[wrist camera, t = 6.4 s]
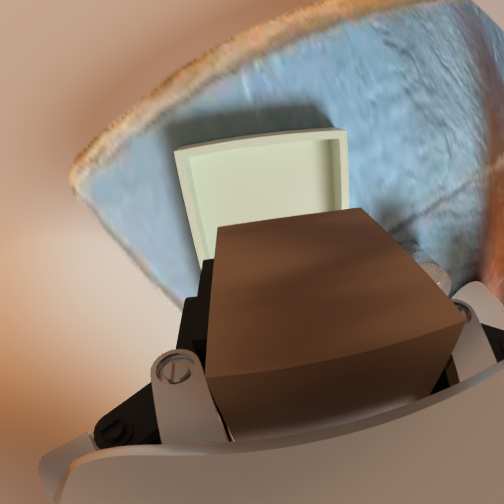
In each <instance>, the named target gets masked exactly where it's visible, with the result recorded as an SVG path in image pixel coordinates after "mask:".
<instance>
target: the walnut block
mask: <svg viewBox="0 0 504 504" xmlns="http://www.w3.org/2000/svg"><path fill="white" fill-rule="evenodd" d="M466 320H467V319H466V318H465V317H464V315H463V314H462V313H461V312H460V311H459V309H458V308H457V307H456V306H455V305H454V303H453V302H452V301H451V300H450V299H449V297H448V296H447V295H446V294H445V293H444V292H443V291H442V289H441V288H440V287H439V286H438V285H437V284H436V283H435V282H434V280H433V279H432V278H431V277H430V276H429V275H428V274H427V273H426V272H425V271H424V270H423V268H422V267H421V266H420V265H419V264H418V263H417V262H416V261H415V260H414V259H413V258H412V257H411V256H410V255H409V254H408V253H407V252H406V251H405V250H404V249H403V248H402V247H401V246H400V245H399V244H398V243H397V242H396V241H395V240H394V239H393V238H392V237H391V236H390V235H389V234H388V233H387V232H386V231H385V230H384V229H383V228H382V227H381V226H380V225H379V224H378V223H377V222H376V221H375V220H373V219H372V218H371V217H370V216H369V215H368V214H367V213H366V212H365V211H364V210H363V209H362V208H353V209H344V210H336V211H328V212H320V213H312V214H305V215H297V216H290V217H282V218H275V219H268V220H261V221H254V222H247V223H241V224H234V225H227V226H221V227H217V236H216V246H215V256H214V266H213V276H212V287H211V298H210V310H209V322H208V336H207V350H206V365H205V379H206V382H207V384H208V386H209V388H210V391H211V393H212V395H213V397H214V400H215V402H216V404H217V406H218V408H219V410H220V412H221V414H222V417H223V419H224V421H225V423H226V425H227V427H228V429H229V431H230V433H231V435H232V437H233V439H234V441H235V442H237V441H248V440H258V439H266V438H274V437H281V436H287V435H293V434H299V433H305V432H310V431H315V430H320V429H324V428H329V427H333V426H337V425H342V424H346V423H349V422H353V421H357V420H361V419H364V418H368V417H371V416H374V415H378V414H381V413H384V412H387V411H390V410H393V409H396V408H399V407H402V406H405V405H407V404H410V403H413V402H415V401H418V400H421V399H423V398H426V397H428V396H429V395H430V393H431V391H432V389H433V388H434V386H435V384H436V382H437V381H438V379H439V377H440V375H441V373H442V371H443V370H444V368H445V366H446V364H447V362H448V360H449V358H450V356H451V354H452V352H453V350H454V348H455V345H456V343H457V341H458V339H459V337H460V334H461V332H462V330H463V327H464V325H465V323H466Z"/></svg>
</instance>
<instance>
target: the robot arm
mask: <svg viewBox="0 0 504 504" xmlns="http://www.w3.org/2000/svg"><path fill="white" fill-rule="evenodd" d="M213 266H214V258H213V259H206V260H203V263H202V269H201V276H200V282H199V288H198V295H197V297H189V298H186V299H185V303H184V308H183V313H182V318H181V323H180V329H179V334H178V340H177V346H176V349H175V350H171V351H168V352H166V353H164V354H162V355H161V356H159V357H158V358H157V359H156V361H155V362H154V363H153V365H152V367H151V382H150V383H149V384H148V385H146V386H145V387H144V388H142V389H141V390H140V391H138V392H137V393H136V394H134V395H133V396H131V397H130V398H129V399H127V400H126V401H124V402H123V403H122V404H120V405H119V406H117V407H116V408H115V409H113V410H112V411H110V412H109V413H108V414H106V415H105V416H103V417H102V418H101V419H100V420H99V421H98V423H97V424H96V426H95V429H94V433H92V434H89V433H88V432H86V433H84V434H82V435H80V436H79V437H77V438H75V439H73V440H71V441H69V442H67V443H65V444H63V445H61V446H59V447H57V448H55V449H54V450H52V451H49V452H47V453H46V454H45V455H43V456H42V458H41V459H40V461H39V465H38V471H39V476H40V479H41V482H42V485H43V487H44V490H45V493H46V495H47V498H48V500H49V503H50V504H504V330H501V329H498V328H495V327H492V326H489V325H486V324H482V323H480V321H479V319H478V317H477V315H476V313H475V311H474V310H473V308H472V307H471V306H470V305H469V304H468V303H466V302H464V301H462V300H458V299H450V300H451V301H452V302H453V303H454V305H455V306H456V307H457V308H458V309H459V311H460V312H461V313H462V314H463V315H464V317H465V318H466V319H467V320H466V323H465V325H464V327H463V330H462V332H461V334H460V337H459V339H458V341H457V343H456V345H455V348H454V350H453V352H452V354H451V356H450V358H449V360H448V362H447V364H446V366H445V368H444V370H443V371H442V373H441V375H440V377H439V379H438V381H437V382H436V384H435V386H434V388H433V389H432V391H431V393H430V395H429V396H428V397H426V398H423V399H421V400H418V401H415V402H413V403H410V404H407V405H405V406H402V407H399V408H396V409H393V410H390V411H387V412H384V413H381V414H378V415H374V416H371V417H368V418H364V419H361V420H357V421H353V422H349V423H346V424H342V425H337V426H333V427H329V428H324V429H320V430H315V431H310V432H305V433H299V434H293V435H287V436H281V437H274V438H266V439H258V440H248V441H237V442H234V441H233V438H232V436H231V433H230V431H229V429H228V427H227V425H226V423H225V421H224V419H223V417H222V414H221V412H220V410H219V408H218V406H217V404H216V402H215V400H214V397H213V395H212V393H211V391H210V388H209V386H208V384H207V382H206V379H205V365H206V350H207V336H208V322H209V310H210V298H211V287H212V276H213Z"/></svg>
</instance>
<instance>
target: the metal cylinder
mask: <svg viewBox="0 0 504 504" xmlns="http://www.w3.org/2000/svg"><path fill="white" fill-rule="evenodd" d="M399 245H400V246H401V247H402V248H403V249H404V250H405V251H406V252H407V253H408V254H409V255H410V256H411V257H412V258H413V259H414V260H415V261H416V262H417V263H418V264H419V265H420V266H421V267H422V268H423V270H424V271H425V272H426V273H427V274H428V275H429V276H430V277H431V278H432V279H433V280H434V282H435V283H436V284H437V285H438V286H439V287H440V288H441V289H442V291H443V292H444V293H445V294H446V295H447V296H448V295H449V293H450V290H451V286H452V281H451V278H450V276H449V275H448V274H447V273H446V272H445V271H444V270H443V269H442V268H441V267H440V266H439V265H438V264H437V263H436V262H435V261H434V260H433V259H432V258H431V257H430V256H429V255H428V254H427V253H426V252H425V251H424V250H423V249H422V248H421V247H420V246H419V245H417V244H416V243H415V242H413V241H405V242H402V243H400V244H399Z"/></svg>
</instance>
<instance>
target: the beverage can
mask: <svg viewBox="0 0 504 504" xmlns="http://www.w3.org/2000/svg"><path fill="white" fill-rule="evenodd" d="M451 299H458V300H462V301H464V302H466V303H468V304H469V305H470V306H471V307H472V308H473V310H474V311H475V313H476V315H477V317H478V319H479V321H480V323H482V324H486V325H489V326H492V327H495V328H498V329H501V330H504V305H503V304H502V303H501V302H500V301H499V300H498V299H497V298H496V297H495V296H494V295H493V294H492V293H491V292H490V291H489V290H488V288H487V287H486V286H485V285H484V284H483V283H481V282H479V281H473V282H470V283H468V284H466V285H465V286H463V287H462V288H461V289H459V290H458V291H457V292H456V293H455V294H454V296H453V297H452V298H451Z"/></svg>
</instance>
